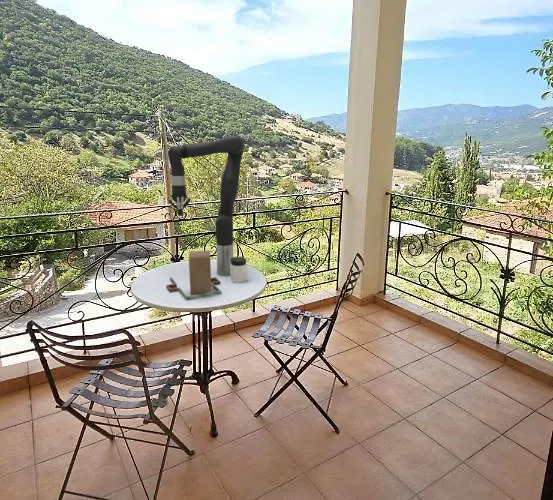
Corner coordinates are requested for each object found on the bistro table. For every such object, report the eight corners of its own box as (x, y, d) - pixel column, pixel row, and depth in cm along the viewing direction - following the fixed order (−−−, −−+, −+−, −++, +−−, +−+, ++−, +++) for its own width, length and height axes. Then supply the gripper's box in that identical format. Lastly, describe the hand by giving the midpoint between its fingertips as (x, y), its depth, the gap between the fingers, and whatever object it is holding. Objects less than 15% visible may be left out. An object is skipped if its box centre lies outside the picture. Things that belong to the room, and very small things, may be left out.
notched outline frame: (209, 274, 218) (209, 271, 218) (229, 292, 193) (229, 289, 193) (161, 281, 206) (161, 279, 205) (176, 302, 181) (176, 298, 180)
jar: (248, 281, 208) (248, 260, 204) (234, 284, 204) (234, 262, 201) (242, 276, 215) (242, 255, 212) (228, 278, 212) (228, 257, 209)
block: (211, 295, 189) (210, 255, 184) (190, 296, 187) (188, 256, 182) (210, 287, 199) (209, 250, 193) (190, 289, 197) (188, 250, 191)
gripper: (167, 185, 204) (169, 217, 209) (192, 184, 210) (193, 215, 215) (164, 183, 211) (166, 215, 215) (188, 182, 217) (189, 213, 221)
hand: (180, 215), depth 215 cm, fingers closed
